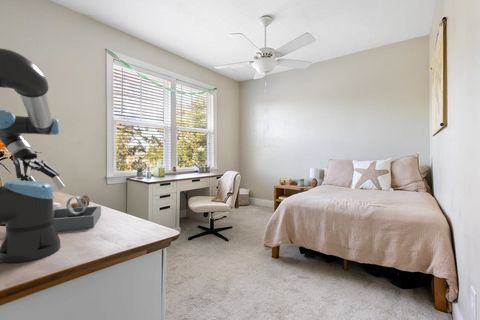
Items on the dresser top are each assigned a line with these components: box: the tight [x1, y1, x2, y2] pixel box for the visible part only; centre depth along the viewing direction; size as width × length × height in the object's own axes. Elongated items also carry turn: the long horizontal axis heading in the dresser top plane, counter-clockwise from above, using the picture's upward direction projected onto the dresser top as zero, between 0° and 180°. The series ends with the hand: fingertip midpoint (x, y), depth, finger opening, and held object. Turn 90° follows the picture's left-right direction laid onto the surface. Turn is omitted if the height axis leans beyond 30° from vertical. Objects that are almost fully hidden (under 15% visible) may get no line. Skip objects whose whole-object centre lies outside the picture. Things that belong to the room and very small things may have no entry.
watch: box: [65, 195, 88, 217], centre depth 110 cm, size 6×8×11 cm
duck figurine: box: [53, 201, 62, 209], centre depth 123 cm, size 12×8×11 cm
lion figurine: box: [70, 194, 90, 208], centre depth 123 cm, size 15×5×9 cm, turn 3°
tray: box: [53, 205, 102, 232], centre depth 108 cm, size 20×20×5 cm
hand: (50, 188), depth 107 cm, fingers open, 13 cm apart
